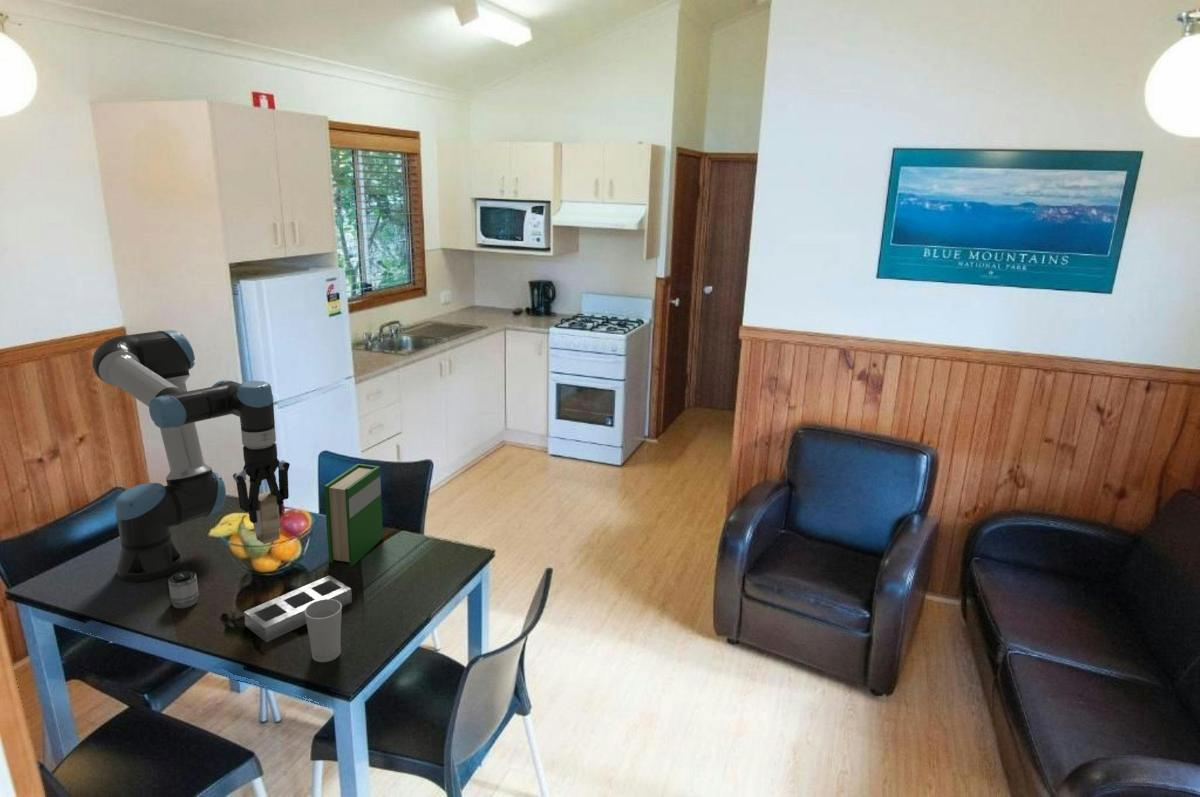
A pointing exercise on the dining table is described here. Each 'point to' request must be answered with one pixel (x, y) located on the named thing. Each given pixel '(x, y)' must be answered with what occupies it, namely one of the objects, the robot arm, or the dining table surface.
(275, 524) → the peg
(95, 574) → the dining table surface
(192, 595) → the camera lens
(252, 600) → the dining table surface
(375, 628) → the dining table surface
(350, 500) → the hardback book
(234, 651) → the dining table surface
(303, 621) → the grey slotted block
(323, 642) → the cup
